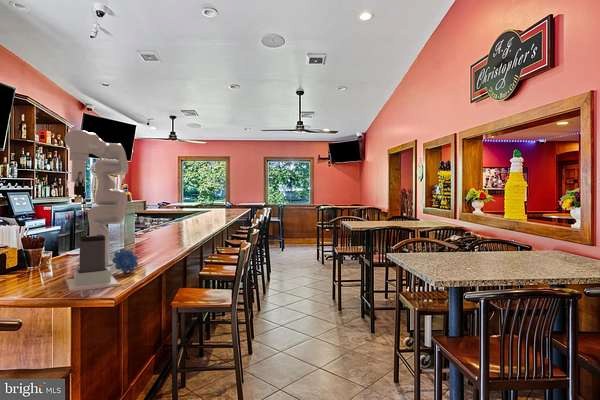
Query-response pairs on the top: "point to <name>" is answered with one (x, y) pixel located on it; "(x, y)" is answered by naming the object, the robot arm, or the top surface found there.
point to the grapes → (125, 260)
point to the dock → (91, 280)
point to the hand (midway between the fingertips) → (78, 195)
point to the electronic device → (92, 253)
